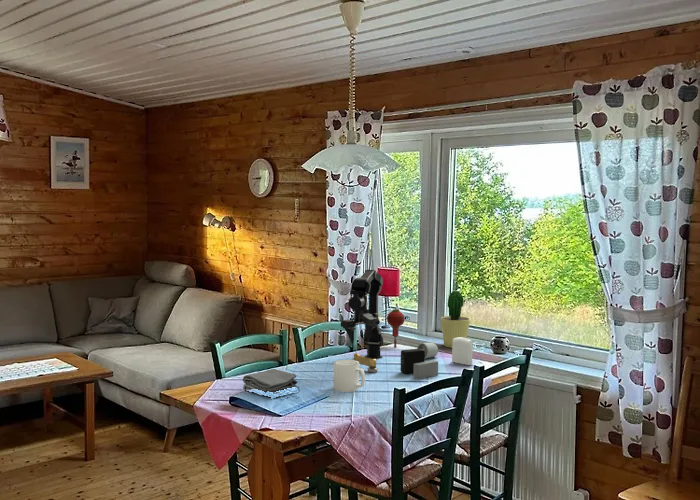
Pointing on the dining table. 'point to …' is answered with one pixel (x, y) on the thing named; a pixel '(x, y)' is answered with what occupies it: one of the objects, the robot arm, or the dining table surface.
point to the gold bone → (365, 360)
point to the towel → (270, 381)
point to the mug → (347, 376)
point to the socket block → (425, 369)
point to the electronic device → (411, 359)
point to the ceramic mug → (429, 349)
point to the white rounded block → (462, 351)
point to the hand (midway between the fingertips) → (360, 341)
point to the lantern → (395, 322)
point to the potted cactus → (454, 320)
